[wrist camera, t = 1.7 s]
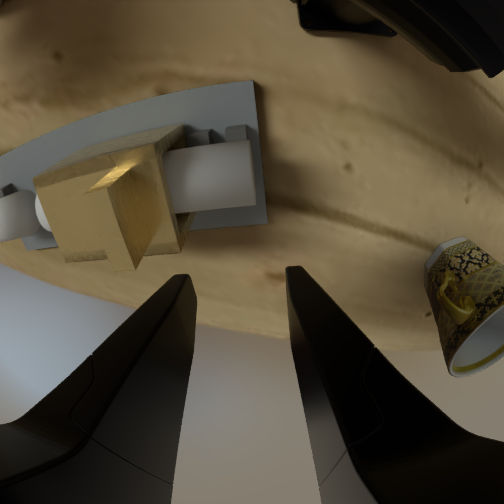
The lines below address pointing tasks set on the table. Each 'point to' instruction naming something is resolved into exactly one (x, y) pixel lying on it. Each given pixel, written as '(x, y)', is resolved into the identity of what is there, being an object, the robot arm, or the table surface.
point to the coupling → (115, 200)
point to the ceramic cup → (466, 305)
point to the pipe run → (175, 162)
